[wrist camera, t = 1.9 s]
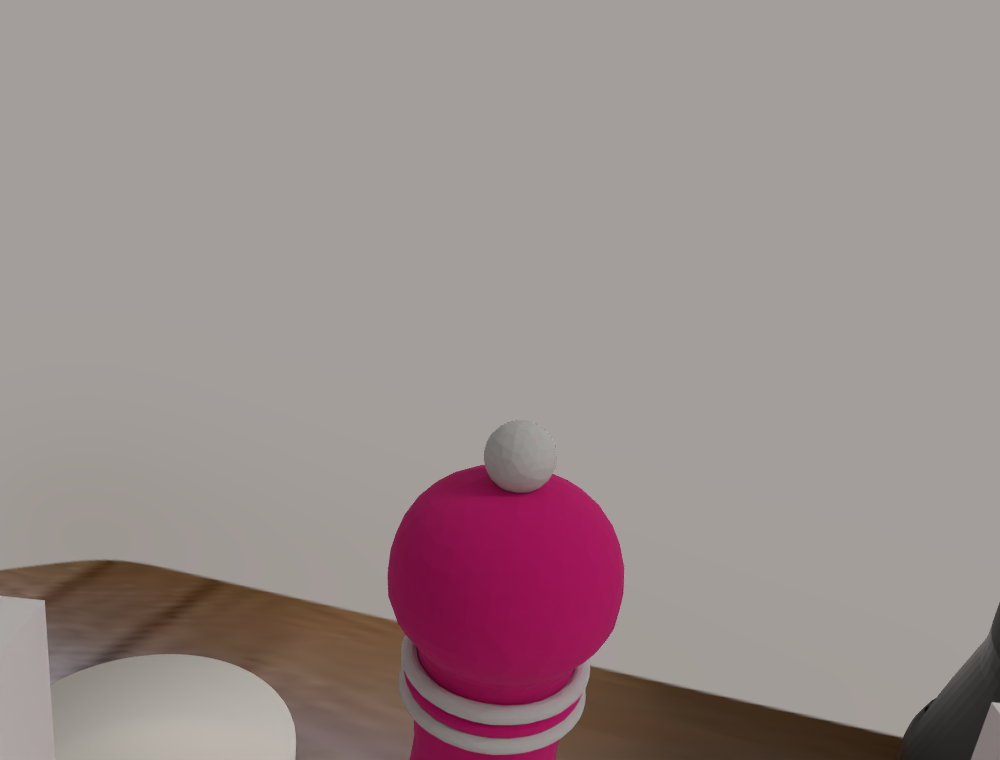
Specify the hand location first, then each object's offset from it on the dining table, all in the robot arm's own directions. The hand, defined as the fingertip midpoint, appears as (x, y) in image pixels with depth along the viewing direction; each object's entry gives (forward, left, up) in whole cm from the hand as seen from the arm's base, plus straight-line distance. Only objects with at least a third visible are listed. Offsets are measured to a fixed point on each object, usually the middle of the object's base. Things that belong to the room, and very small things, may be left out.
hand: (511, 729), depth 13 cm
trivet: (+13, -18, -20) cm, 29 cm away
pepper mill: (0, -10, -20) cm, 22 cm away
